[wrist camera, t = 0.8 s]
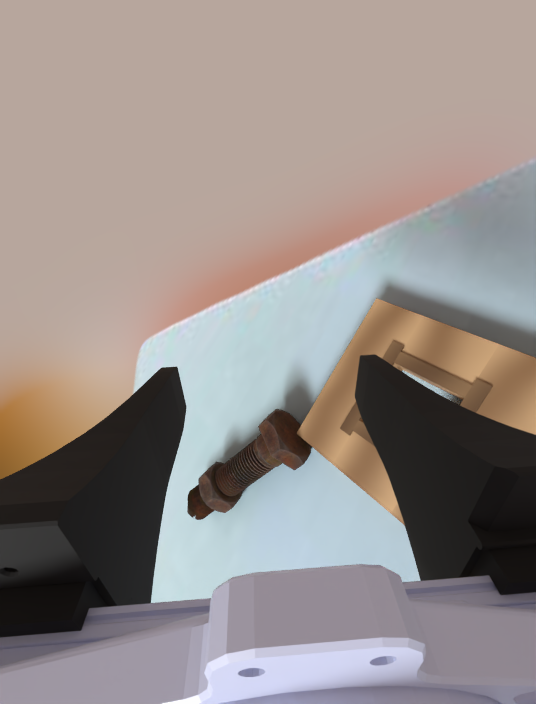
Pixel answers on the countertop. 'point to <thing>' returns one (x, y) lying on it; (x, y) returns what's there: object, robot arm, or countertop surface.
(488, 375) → the board
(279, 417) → the bolt
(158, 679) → the robot arm
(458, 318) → the countertop surface
